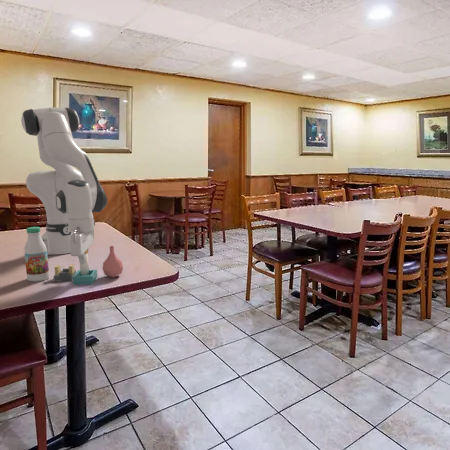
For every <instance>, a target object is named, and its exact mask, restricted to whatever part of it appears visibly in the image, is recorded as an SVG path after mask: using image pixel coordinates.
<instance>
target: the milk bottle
mask: <svg viewBox="0 0 450 450" xmlns="http://www.w3.org/2000/svg"><path fill="white" fill-rule="evenodd" d="M26 234H27V240H26V243H25V244H24V245H25V246H24V251H23V252H24V260H25V261H24V263H25V273H26V280H27V281H28V282H42V281H46V280H47V279H49V278H50V268H49V259H48V255H47V249H46V245H45V243H44V242H43V240H42V238H41V237H42V235H41V227H40V226H30V227H27V228H26Z"/></svg>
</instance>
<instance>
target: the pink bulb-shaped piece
mask: <svg viewBox="0 0 450 450" xmlns="http://www.w3.org/2000/svg"><path fill="white" fill-rule="evenodd" d="M123 270H124V265H123V262H122V260H121V259H120V258H119V257H118V256H117V254H116V253H115V247H114V245H110V246H109V252H108V256H107V258H106V259H105V260H104V261H103V263H102V271H103V273H104V276H108V277H110V278H116V277H117V276H119V275H121V274H122V273H123Z"/></svg>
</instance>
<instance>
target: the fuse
mask: <svg viewBox="0 0 450 450" xmlns="http://www.w3.org/2000/svg"><path fill="white" fill-rule="evenodd" d="M84 258H85V263H84V264H80V263H79V270H80V273H81V276H88V275H89V270H90V269H89V268H90V267H89V252H88V253H87V250H86V251H85V252H84Z"/></svg>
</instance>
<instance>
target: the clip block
mask: <svg viewBox="0 0 450 450" xmlns="http://www.w3.org/2000/svg"><path fill="white" fill-rule="evenodd" d="M75 269H76V268H75V264H73V263H72V264H70V265H69V266H68V268H62V269H61V264H56V265H55V266H54V275H53V281H54V282H66V281H67V282H69V281H71V282H73V276H74V275H75V273H76V272H77V270H75Z"/></svg>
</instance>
